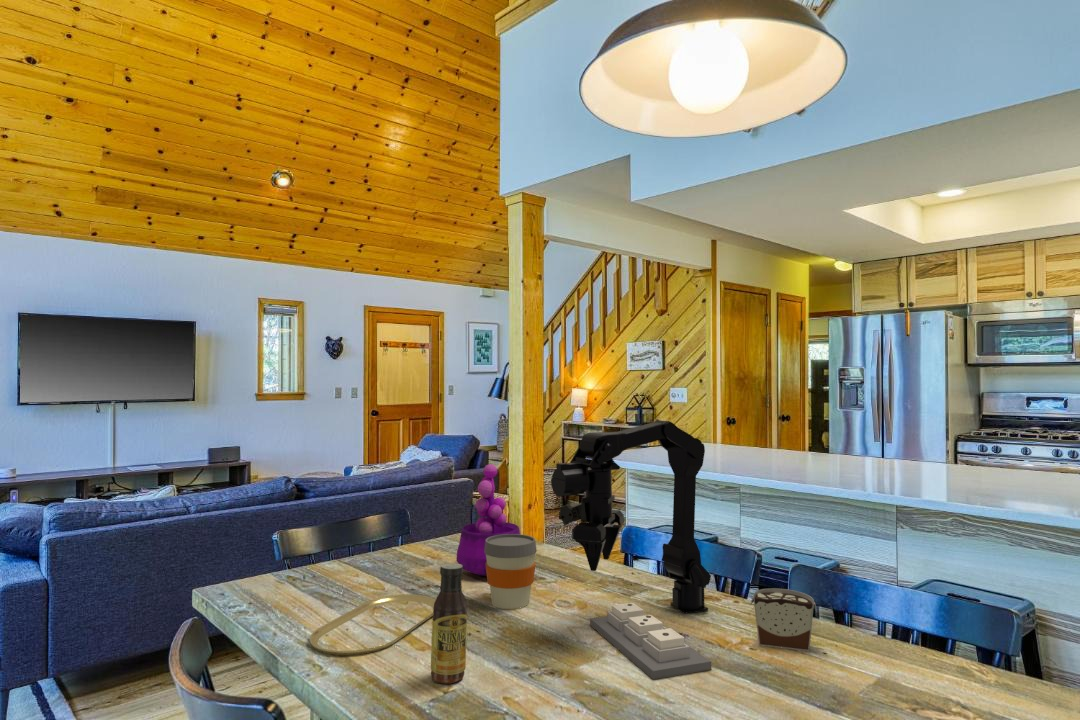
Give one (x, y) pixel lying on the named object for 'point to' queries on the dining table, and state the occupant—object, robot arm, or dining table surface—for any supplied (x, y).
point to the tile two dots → (626, 611)
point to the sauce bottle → (449, 627)
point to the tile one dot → (665, 639)
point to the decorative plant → (483, 526)
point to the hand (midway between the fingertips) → (599, 564)
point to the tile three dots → (645, 624)
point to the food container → (783, 618)
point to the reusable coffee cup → (510, 569)
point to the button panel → (649, 650)
